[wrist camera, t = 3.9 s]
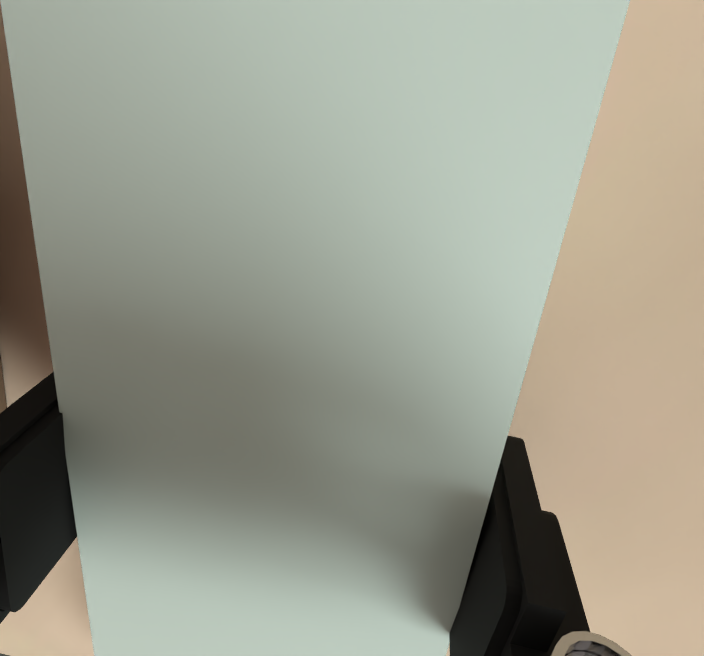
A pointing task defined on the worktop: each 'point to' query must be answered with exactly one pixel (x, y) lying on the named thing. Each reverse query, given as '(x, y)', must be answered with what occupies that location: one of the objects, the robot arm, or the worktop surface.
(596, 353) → the worktop surface
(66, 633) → the worktop surface
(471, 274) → the shelf board
